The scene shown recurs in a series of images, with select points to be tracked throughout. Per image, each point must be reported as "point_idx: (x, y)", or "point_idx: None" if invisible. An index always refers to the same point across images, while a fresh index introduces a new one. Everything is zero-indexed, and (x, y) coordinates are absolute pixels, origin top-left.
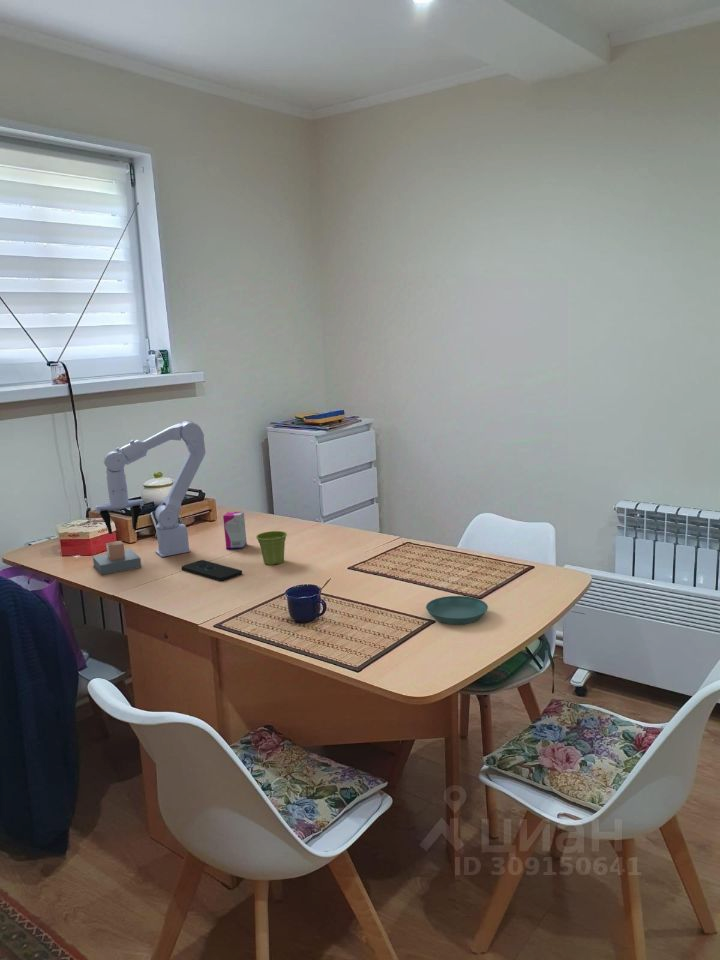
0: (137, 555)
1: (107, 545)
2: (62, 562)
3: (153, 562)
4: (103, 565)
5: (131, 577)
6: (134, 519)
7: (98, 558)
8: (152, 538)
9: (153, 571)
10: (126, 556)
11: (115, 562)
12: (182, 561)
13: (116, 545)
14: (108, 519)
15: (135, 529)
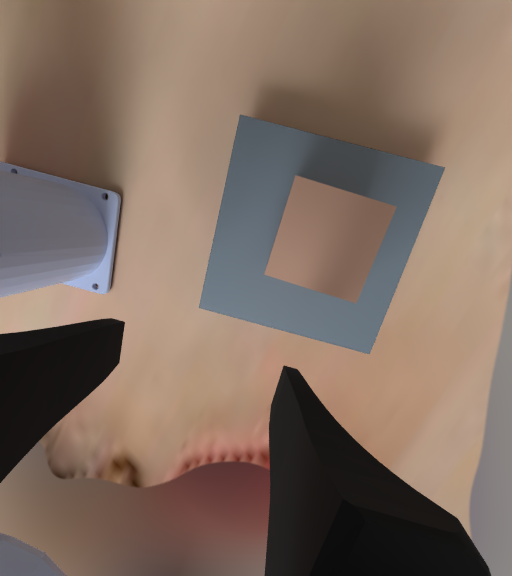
0: (229, 173)
1: (378, 246)
2: (400, 464)
3: (177, 158)
4: (426, 165)
5: (359, 4)
6: (47, 342)
7: (375, 296)
8: (53, 454)
9: (242, 8)
10: (273, 207)
11: (367, 149)
12: (79, 49)
13: (341, 190)
14: (335, 452)
15: (116, 320)
